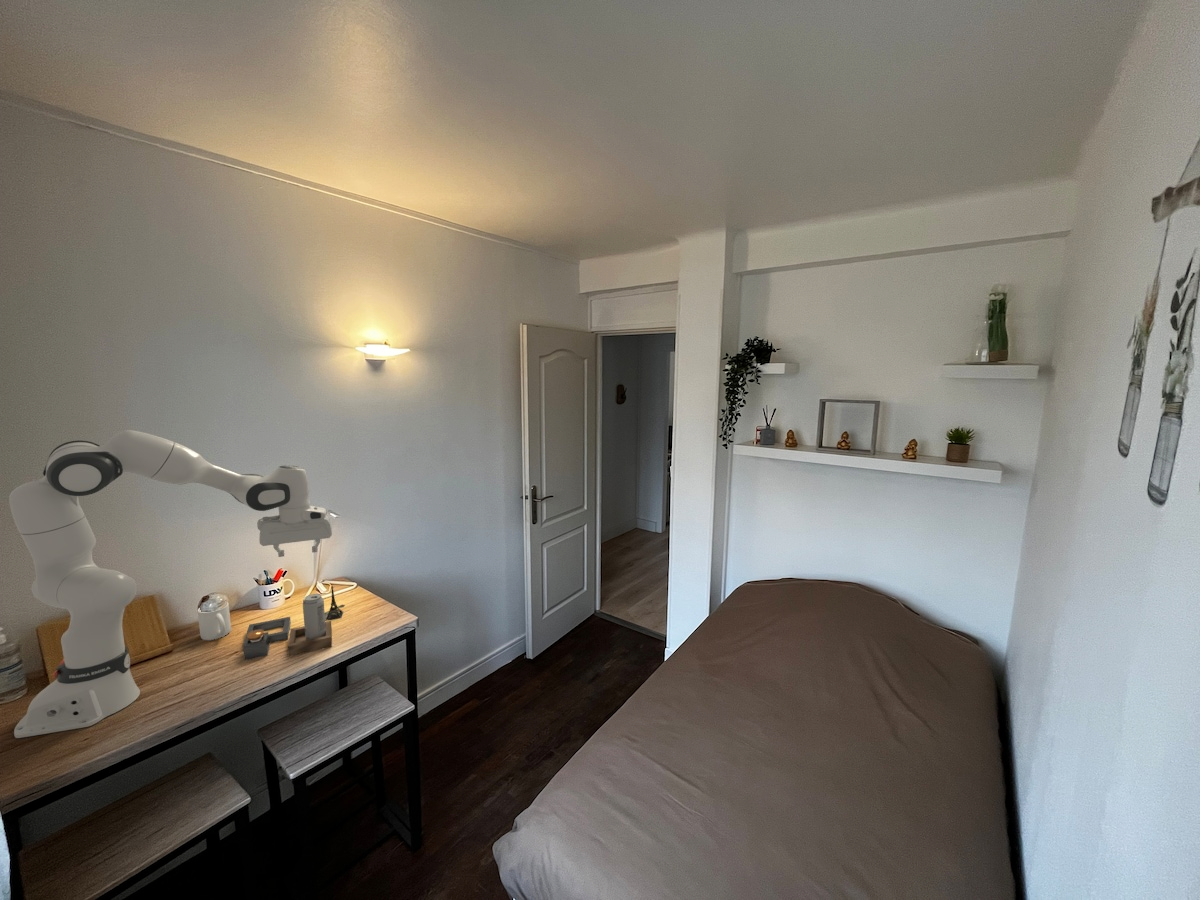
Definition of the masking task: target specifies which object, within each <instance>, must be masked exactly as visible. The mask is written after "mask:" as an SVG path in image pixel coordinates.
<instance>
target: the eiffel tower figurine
mask: <svg viewBox="0 0 1200 900" xmlns="http://www.w3.org/2000/svg"><path fill="white" fill-rule="evenodd" d="M330 590H331V602H330V608H329V610H328V611H325V622H327V621H332V620H338V619H342V617H343V614H344V611H343V610H342V609H340V608H344V607H345V606H346V605H345V604H341V605H338V604H337V602H336V599H335V594H334V586H333V585H331V589H330Z"/></svg>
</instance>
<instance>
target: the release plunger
mask: <svg viewBox="0 0 1200 900" xmlns="http://www.w3.org/2000/svg"><path fill="white" fill-rule="evenodd" d="M264 633H265V630H262V629H258V630H253V631H251V632H249V633H248V634H247V639H248V640H250V643H252V642H257V641H261V640H262V637H263V636H264Z"/></svg>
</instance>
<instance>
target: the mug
mask: <svg viewBox="0 0 1200 900" xmlns="http://www.w3.org/2000/svg"><path fill="white" fill-rule="evenodd" d="M224 601H225V600H224ZM225 603H226V606H225V607H224V608H222V609H219V610H216V611H212V612H201V610H200V607H199V608H197V619H198V620H197V621H198V627H199V633H200V634H199V635H200V638H201V639H202V640H203V641H215V640H218V638H219V639H222V638H224V637H225V635H226V636H227V635H229V634H230V633H231V631H232V624H231V623H232V622H231V614H230V606H229V605H230V604H229V602H228V601H225ZM228 633H229V634H228ZM221 637H222V638H221ZM214 639H215V640H214Z"/></svg>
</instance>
